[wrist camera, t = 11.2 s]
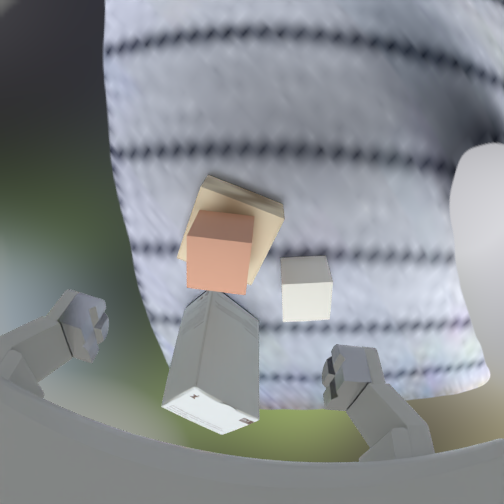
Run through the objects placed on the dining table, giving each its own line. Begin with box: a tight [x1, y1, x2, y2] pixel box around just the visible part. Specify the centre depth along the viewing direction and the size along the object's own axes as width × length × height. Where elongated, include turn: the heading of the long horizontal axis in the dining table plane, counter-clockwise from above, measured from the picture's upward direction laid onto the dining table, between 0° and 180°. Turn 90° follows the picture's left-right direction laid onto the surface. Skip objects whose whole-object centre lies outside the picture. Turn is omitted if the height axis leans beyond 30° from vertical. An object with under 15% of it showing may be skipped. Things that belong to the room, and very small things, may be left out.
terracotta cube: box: [187, 210, 255, 295], centre depth 27 cm, size 5×5×5 cm
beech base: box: [177, 175, 285, 285], centre depth 31 cm, size 8×8×4 cm
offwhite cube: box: [281, 256, 333, 322], centre depth 33 cm, size 5×5×5 cm
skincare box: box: [161, 290, 259, 434], centre depth 32 cm, size 8×6×15 cm
